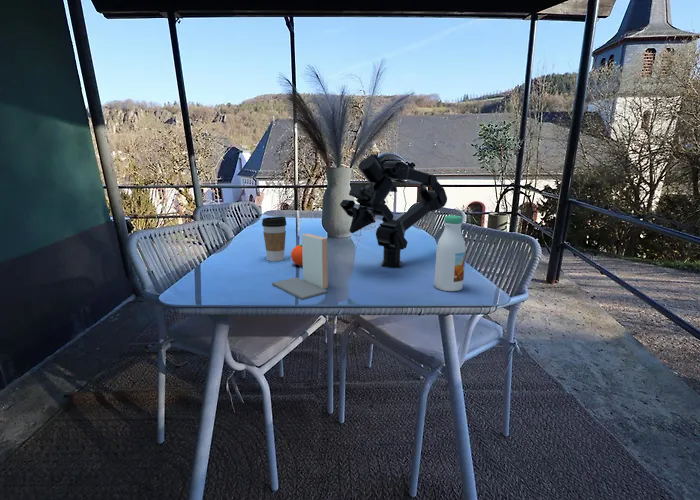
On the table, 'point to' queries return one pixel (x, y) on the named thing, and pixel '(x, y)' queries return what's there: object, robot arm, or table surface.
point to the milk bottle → (450, 256)
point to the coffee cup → (274, 237)
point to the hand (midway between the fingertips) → (350, 232)
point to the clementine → (297, 255)
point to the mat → (299, 288)
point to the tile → (315, 260)
